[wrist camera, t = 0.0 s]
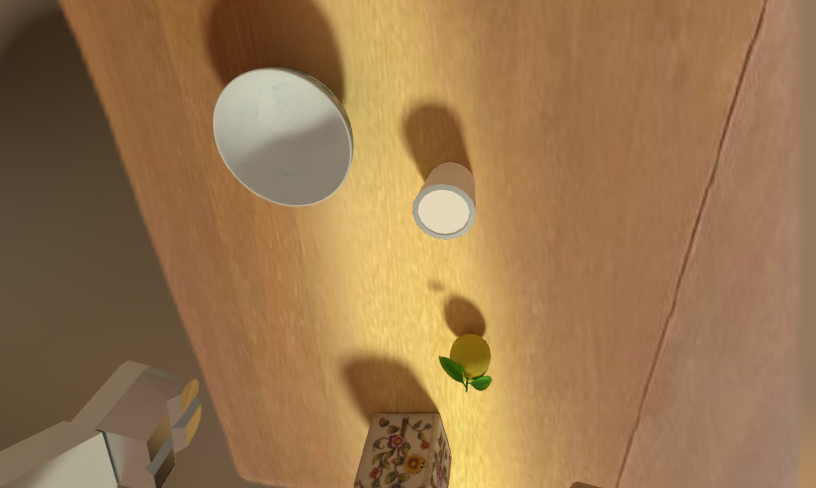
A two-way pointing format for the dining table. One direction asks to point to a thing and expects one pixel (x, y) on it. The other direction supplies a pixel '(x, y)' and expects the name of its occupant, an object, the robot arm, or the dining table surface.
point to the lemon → (469, 361)
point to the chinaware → (283, 135)
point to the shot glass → (446, 202)
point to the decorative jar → (405, 452)
